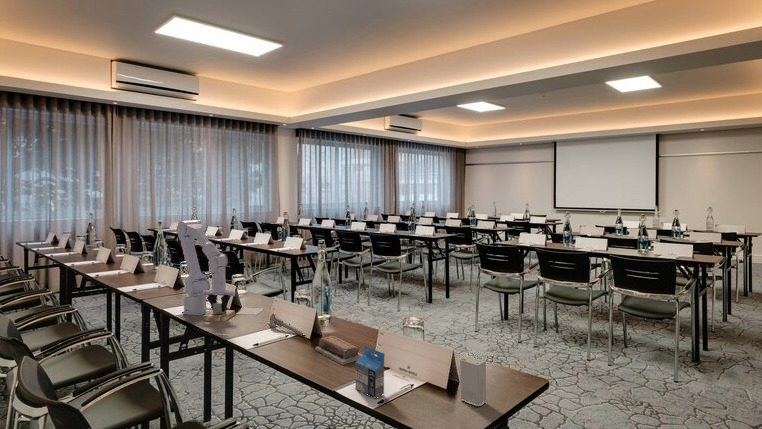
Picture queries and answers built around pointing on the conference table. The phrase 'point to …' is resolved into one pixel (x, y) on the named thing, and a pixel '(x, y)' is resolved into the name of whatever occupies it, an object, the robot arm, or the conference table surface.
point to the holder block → (219, 316)
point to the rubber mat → (250, 311)
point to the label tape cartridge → (370, 373)
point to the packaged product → (338, 350)
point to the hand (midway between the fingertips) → (219, 311)
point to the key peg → (218, 308)
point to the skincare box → (473, 380)
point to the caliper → (283, 324)
